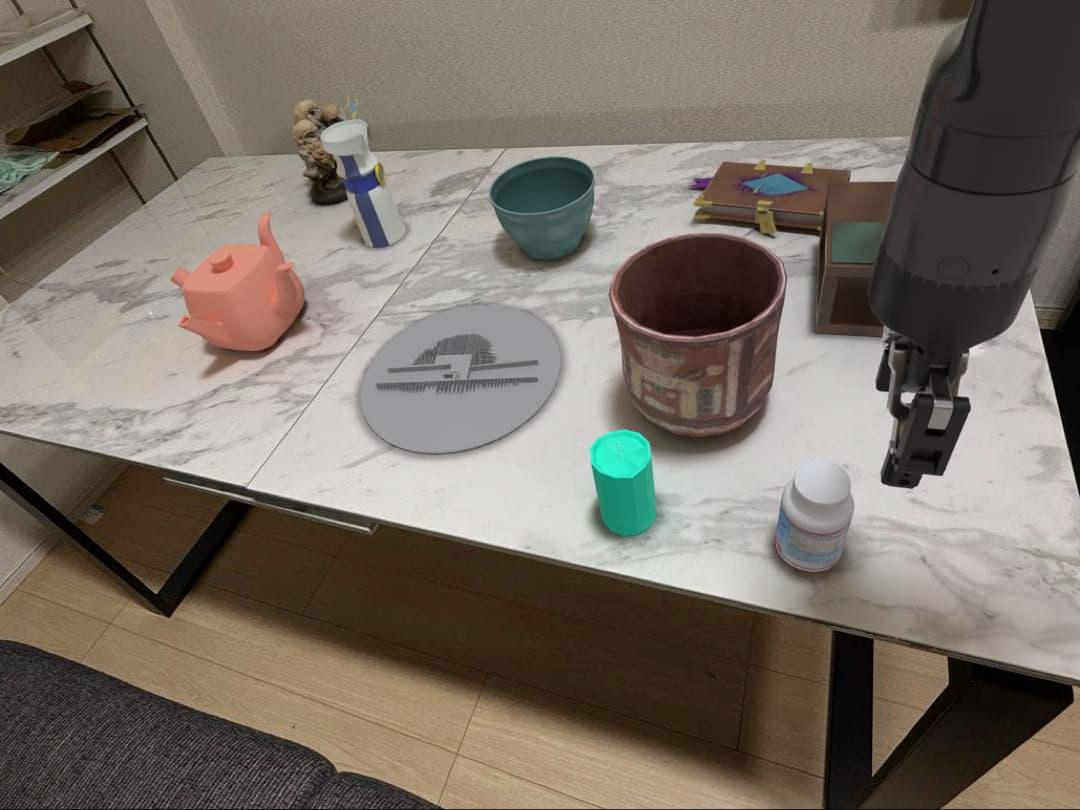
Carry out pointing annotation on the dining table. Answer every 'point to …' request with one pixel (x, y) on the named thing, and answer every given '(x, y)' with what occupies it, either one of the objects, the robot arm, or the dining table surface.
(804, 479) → the pill bottle
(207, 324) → the teapot
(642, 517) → the candle
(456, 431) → the plate
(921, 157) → the robot arm
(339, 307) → the dining table surface
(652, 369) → the pottery
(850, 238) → the stand
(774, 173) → the book
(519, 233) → the flower pot
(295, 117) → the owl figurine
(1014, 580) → the dining table surface
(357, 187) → the water bottle
